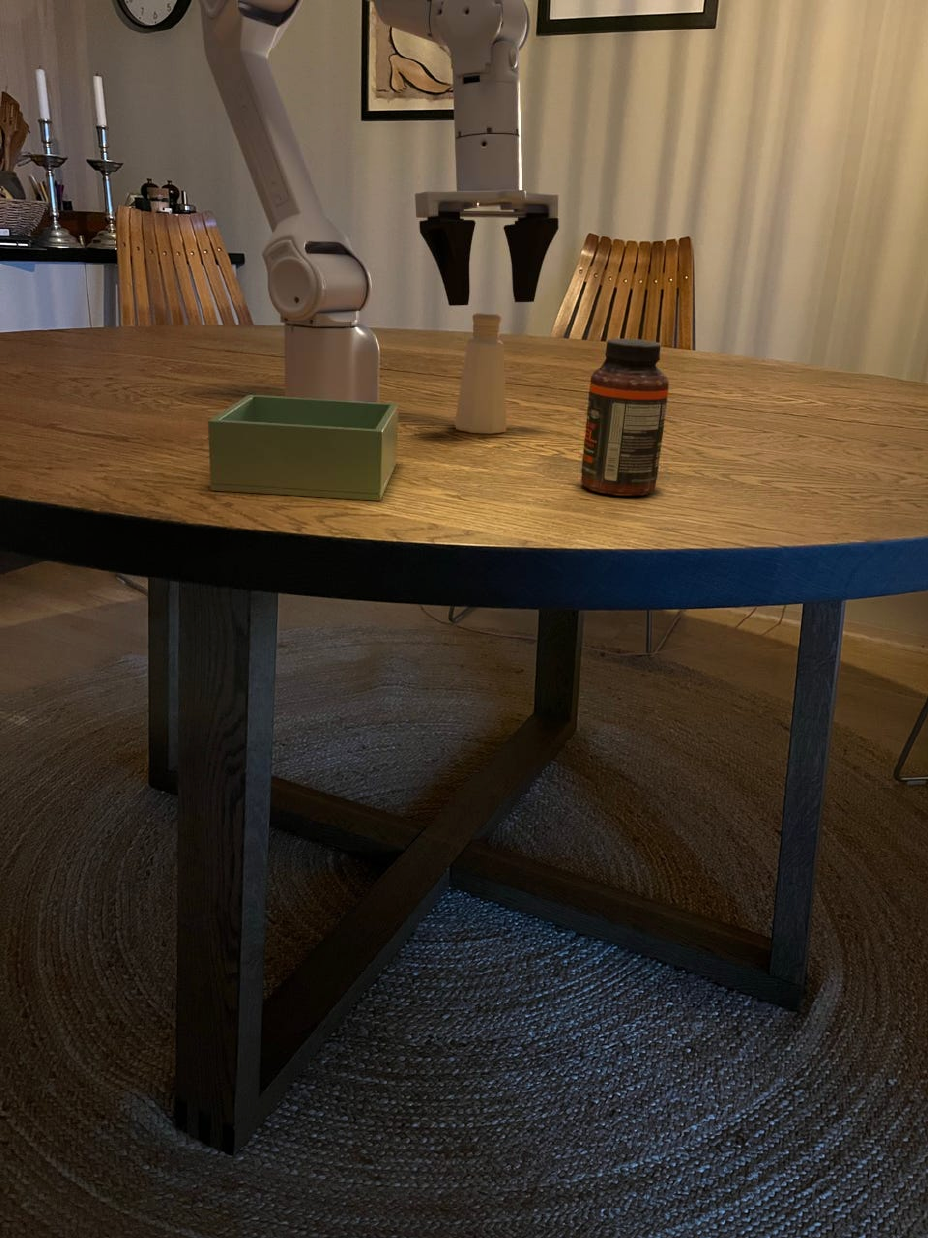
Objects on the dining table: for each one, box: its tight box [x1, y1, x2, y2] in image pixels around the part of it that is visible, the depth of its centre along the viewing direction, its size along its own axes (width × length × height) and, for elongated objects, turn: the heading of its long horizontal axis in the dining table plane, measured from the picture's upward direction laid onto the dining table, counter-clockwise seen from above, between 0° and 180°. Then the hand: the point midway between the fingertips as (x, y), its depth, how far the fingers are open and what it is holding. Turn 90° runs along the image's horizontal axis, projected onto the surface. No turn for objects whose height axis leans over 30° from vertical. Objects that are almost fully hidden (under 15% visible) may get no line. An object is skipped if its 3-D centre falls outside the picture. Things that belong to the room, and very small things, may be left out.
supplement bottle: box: [580, 338, 670, 497], centre depth 77 cm, size 6×6×11 cm
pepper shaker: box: [454, 312, 507, 435], centre depth 98 cm, size 5×5×11 cm
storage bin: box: [207, 394, 399, 502], centre depth 76 cm, size 12×12×5 cm
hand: (492, 303), depth 90 cm, fingers open, 7 cm apart
